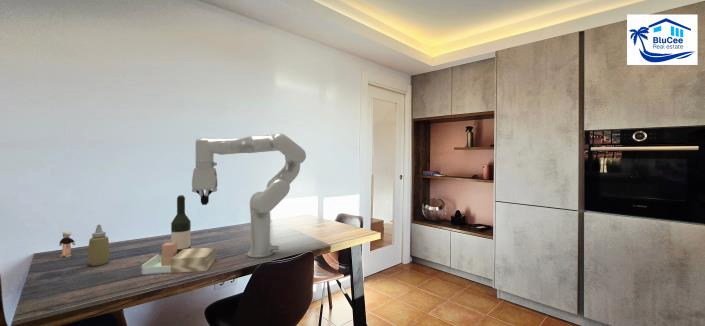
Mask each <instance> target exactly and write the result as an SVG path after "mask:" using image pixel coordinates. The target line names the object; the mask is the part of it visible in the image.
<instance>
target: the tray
mask: <svg viewBox="0 0 705 326" xmlns="http://www.w3.org/2000/svg"><path fill="white" fill-rule="evenodd" d="M161 257H162V255H161V256H160V254H156V255H155V256H154V257H152V258H150V259H149V260H147V261H146V262H145V263H142V264H141V275H143V276H144V275H145V276H146V275H161V274H162V273H163V274H172V273H171V266H161Z"/></svg>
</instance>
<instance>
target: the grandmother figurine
mask: <svg viewBox="0 0 705 326" xmlns="http://www.w3.org/2000/svg"><path fill="white" fill-rule="evenodd" d="M72 234H73V233H72V232H71V231H69V230H64V231H62V237H63V238H61V239H60V240H59V244H58V246H59V247H62V249H61V250H62V251H61V255H59V258H64V257H65V258H68V257H71V256H73V255H72V247H71V244H72V246H75V245H76V241H75V240H74V239H73V238H71V237H70V236H71V235H72Z"/></svg>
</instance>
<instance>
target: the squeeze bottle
mask: <svg viewBox="0 0 705 326" xmlns="http://www.w3.org/2000/svg"><path fill="white" fill-rule="evenodd" d="M106 233H107V232H106V231H103V227H102V225H101V224H97V225H96V228H95V231H94V232H93V233H91V234H92V235H91V238H90V239H89V242H88V248H87V255H86V257H87V261H88V263H89V265H90V266H93V267H94V266H95V267H96V266H101V265H102V266H103V265H105V264H107V263H108V262H109V258H110V256H111V248H110V242H109V236H107V234H106Z"/></svg>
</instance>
